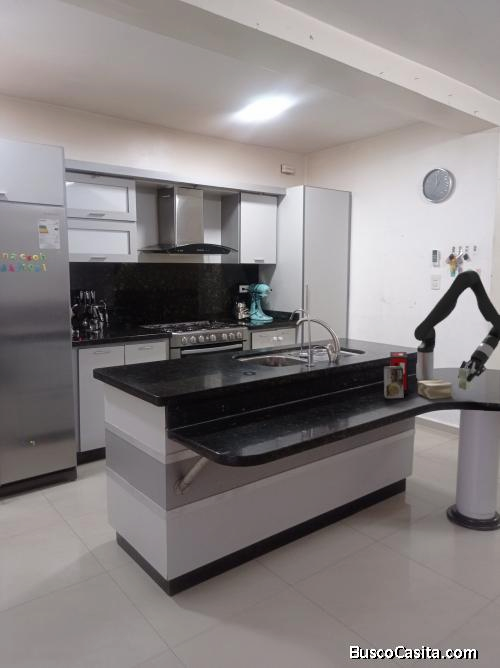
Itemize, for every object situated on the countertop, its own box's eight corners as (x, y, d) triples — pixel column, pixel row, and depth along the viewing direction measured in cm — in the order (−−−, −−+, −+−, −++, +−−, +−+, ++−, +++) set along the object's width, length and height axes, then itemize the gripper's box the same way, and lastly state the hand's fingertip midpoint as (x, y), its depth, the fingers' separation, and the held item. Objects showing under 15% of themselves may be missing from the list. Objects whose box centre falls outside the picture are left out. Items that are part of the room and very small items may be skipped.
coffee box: (401, 395, 260) (401, 365, 258) (403, 398, 254) (403, 367, 252) (383, 395, 261) (383, 366, 259) (386, 398, 254) (385, 368, 252)
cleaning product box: (407, 393, 263) (407, 357, 260) (390, 393, 265) (390, 357, 262) (406, 386, 278) (406, 352, 276) (390, 386, 281) (390, 352, 278)
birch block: (417, 393, 262) (417, 381, 261) (438, 391, 264) (438, 379, 263) (430, 399, 249) (430, 386, 248) (452, 397, 252) (452, 383, 251)
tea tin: (458, 387, 248) (458, 368, 246) (466, 386, 250) (466, 367, 248) (466, 390, 243) (466, 370, 242) (474, 388, 245) (474, 369, 243)
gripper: (467, 347, 253) (449, 372, 250) (489, 351, 240) (470, 378, 237) (474, 356, 255) (456, 381, 253) (497, 360, 242) (478, 387, 240)
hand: (463, 379), depth 245 cm, fingers closed on tea tin, 5 cm apart
